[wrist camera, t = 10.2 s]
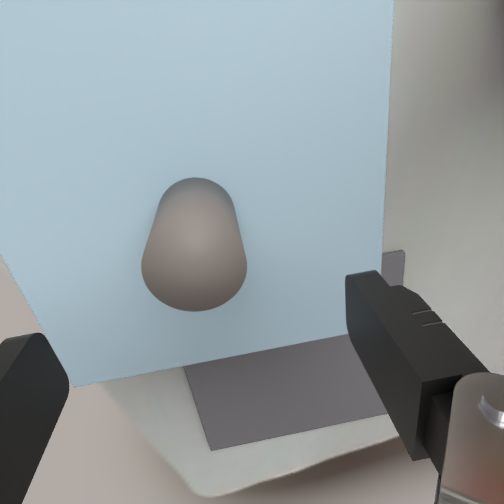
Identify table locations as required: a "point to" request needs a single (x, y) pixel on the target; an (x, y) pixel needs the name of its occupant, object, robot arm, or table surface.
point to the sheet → (190, 173)
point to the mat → (287, 386)
